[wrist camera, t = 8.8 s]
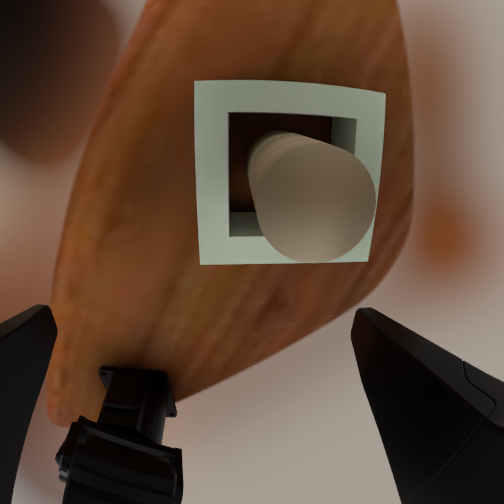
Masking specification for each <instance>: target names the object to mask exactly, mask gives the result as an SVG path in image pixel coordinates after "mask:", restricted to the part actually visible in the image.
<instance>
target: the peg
mask: <svg viewBox="0 0 504 504" xmlns="http://www.w3.org/2000/svg"><path fill="white" fill-rule="evenodd" d="M246 171H247V175H248V179H249V184H250V188H251V192H252V197H253V201H254V205H255V210H256V214H257V218H258V223H259V225H260V228H261V231H262V233H263V235H264V237H265V238H266V239H267V241H268V242H269V243H270V245H271V246H272V247H273V248H274V249H276V250H277V251H278V252H279V253H281V254H282V255H284V256H286V257H288V258H290V259H292V260H295V261H299V262H304V263H322V262H327V261H330V260H333V259H336V258H338V257H340V256H343V255H344V254H346V253H347V252H349V251H350V250H352V249H353V248H354V247H355V246H356V245H357V244H358V243H359V242H360V241H361V240H362V239H363V237H364V236H365V234H366V233H367V231H368V230H369V228H370V225H371V223H372V220H373V217H374V213H375V208H376V193H375V187H374V184H373V181H372V178H371V176H370V174H369V172H368V170H367V169H366V167H365V166H364V165H363V164H362V162H361V161H360V160H359V159H358V158H356V157H355V156H354V155H353V154H351V153H349V152H348V151H346V150H344V149H342V148H339V147H336V146H334V145H331V144H328V143H325V142H322V141H319V140H315V139H312V138H309V137H306V136H303V135H299V134H296V133H293V132H289V131H285V130H274V131H270V132H267V133H265V134H263V135H261V136H259V137H258V138H257V139H256V140H255V141H254V142H253V143H252V145H251V146H250V148H249V150H248V152H247V156H246Z"/></svg>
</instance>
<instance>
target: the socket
mask: <svg viewBox="0 0 504 504" xmlns="http://www.w3.org/2000/svg"><path fill="white" fill-rule="evenodd" d="M385 100H386V93H380V92H375V91H369V90H362V89H356V88H349V87H341V86H333V85H324V84H314V83H303V82H289V81H268V80H209V81H194V124H195V169H196V196H197V218H198V236H199V252H200V265H208V264H275V263H304V262H299V261H295V260H292V259H290V258H288V257H286V256H284V255H282V254H281V253H279V252H278V251H277V250H276V249H274V248H273V247H272V246H271V245H270V243H269V242H268V241H267V239H266V238H265V237H264V235H263V233H262V231H261V228H260V225H259V223H258V218H257V214H256V212H230V181H229V113H279V114H299V115H314V116H326V117H332V129H331V145H334V146H336V147H339V148H342V149H344V150H346V151H348V152H349V153H351V154H353V155H354V156H355V157H356V158H358V159H359V160H360V161H361V162H362V164H363V165H364V166H365V167H366V169H367V170H368V172H369V174H370V176H371V178H372V181H373V184H374V187H375V193H376V206H377V198H378V190H379V182H380V172H381V162H382V151H383V138H384V122H385ZM375 213H376V208H375ZM375 213H374V217H373V220H372V223H371V225H370V228H369V230H368V231H367V233H366V234H365V236H364V237H363V239H362V240H361V241H360V242H359V243H358V244H357V245H356V246H355V247H354V248H353V249H352V250H350V251H349V252H347V253H346V254H344V255H343V256H340V257H338V258H336V259H333V260H330V261H327V262H366V261H368V257H369V251H370V246H371V240H372V233H373V227H374V220H375ZM322 263H325V262H322Z"/></svg>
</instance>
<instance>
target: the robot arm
mask: <svg viewBox="0 0 504 504" xmlns="http://www.w3.org/2000/svg"><path fill="white" fill-rule="evenodd" d="M57 333H58V331H57V326H56V323H55V320H54V317H53V314H52V311H51V309H50V307H49V306H47V305H39V304H38V305H35V306H33V307H31V308H29V309H27V310H25V311H23V312H22V313H19V314H17V315H16V316H14V317H12V318H10V319H8V320H6V321H4V322H2V323H0V504H11V501H12V495H13V488H14V484H15V479H16V474H17V470H18V465H19V461H20V457H21V453H22V449H23V445H24V441H25V438H26V434H27V431H28V427H29V424H30V420H31V417H32V414H33V411H34V408H35V405H36V402H37V399H38V396H39V393H40V390H41V387H42V384H43V382H44V379H45V376H46V373H47V369H48V366H49V362H50V358H51V355H52V351H53V348H54V344H55V341H56V338H57ZM351 341H352V345H353V348H354V352H355V357H356V361H357V365H358V369H359V373H360V377H361V381H362V384H363V387H364V390H365V393H366V395H367V399H368V401H369V404H370V407H371V410H372V413H373V415H374V418H375V421H376V424H377V427H378V430H379V433H380V436H381V439H382V442H383V445H384V448H385V451H386V454H387V457H388V461H389V464H390V467H391V470H392V473H393V477H394V480H395V483H396V486H397V490H398V493H399V496H400V500H401V503H402V504H504V382H503V381H501V380H499V379H497V378H494V377H493V376H491V375H489V374H487V373H485V372H483V371H481V370H480V369H478V368H476V367H474V366H472V365H471V364H469V363H467V362H466V361H462V359H460V358H459V357H457V356H455V355H453V354H452V353H450V352H448V351H446V350H445V349H443V348H441V347H439V346H438V345H436V344H434V343H432V342H431V341H429V340H427V339H426V338H424V337H422V336H420V335H418V334H417V333H415V332H413V331H412V330H410V329H408V328H406V327H404V326H403V325H401V324H399V323H398V322H396V321H394V320H392V319H390V318H389V317H387V316H385V315H384V314H382V313H380V312H378V311H377V310H375V309H373V308H370V307H368V308H359V309H357V311H356V313H355V317H354V321H353V326H352V330H351ZM99 375H100V377H101V380H102V382H103V384H104V387H105V389H106V391H107V392H106V395H105V398H104V401H103V405H102V408H101V411H100V414H99V417H98V420H97V423H96V422H93V421H91V420H88V419H86V417H83V416H81V415H80V417H79V419H78V421H77V422H76V421H75V422H72V424H71V427H70V429H69V432H68V435H67V437H66V439H65V441H64V442H63V444H62V446H61V447H60V449H59V451H58V452H57V454H56V457H55V460H56V462H57V464H58V466H59V472H60V475H59V479H60V481H61V482H64V483H66V486H65V491H64V496H63V501H62V504H181V501H182V496H183V468H182V449H178V448H171V447H167V446H164V445H161V444H162V437H163V431H164V424H165V418H166V417H176V416H177V410H176V406H175V402H174V399H173V395H172V391H171V387H170V384H169V380H168V376H167V374H166V373H165V372H162V371H146V370H132V369H120V368H109V367H100V369H99Z"/></svg>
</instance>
